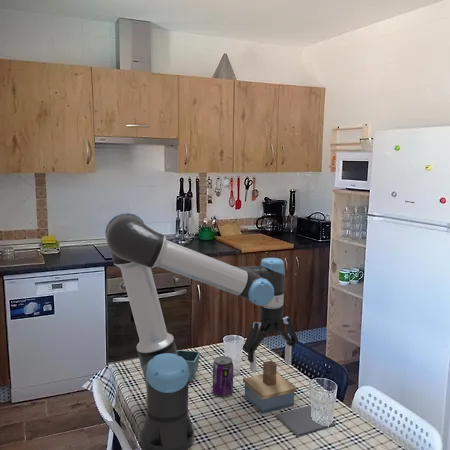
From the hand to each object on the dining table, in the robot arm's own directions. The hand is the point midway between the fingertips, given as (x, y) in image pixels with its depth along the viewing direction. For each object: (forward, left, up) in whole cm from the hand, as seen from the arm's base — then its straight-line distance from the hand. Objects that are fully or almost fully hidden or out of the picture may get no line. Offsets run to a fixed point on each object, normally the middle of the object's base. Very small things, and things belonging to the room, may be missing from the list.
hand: (270, 367), depth 150 cm
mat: (+4, -15, -12) cm, 19 cm away
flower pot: (-20, +26, -12) cm, 35 cm away
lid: (0, 0, -7) cm, 7 cm away
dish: (0, 0, -12) cm, 12 cm away
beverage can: (-12, +11, -12) cm, 20 cm away
